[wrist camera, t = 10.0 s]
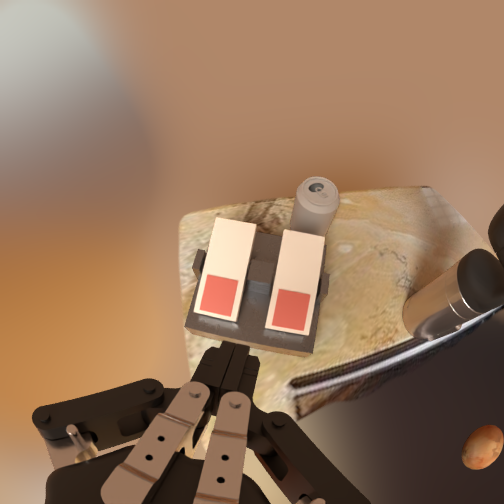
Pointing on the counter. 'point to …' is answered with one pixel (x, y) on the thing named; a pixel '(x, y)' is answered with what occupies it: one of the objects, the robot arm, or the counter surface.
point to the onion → (482, 447)
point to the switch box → (257, 305)
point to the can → (314, 206)
